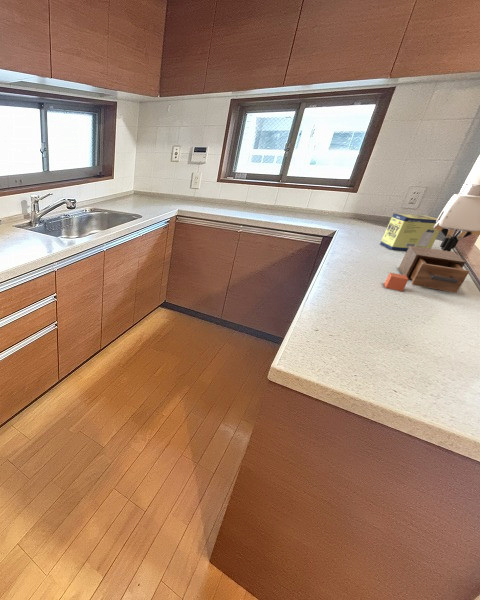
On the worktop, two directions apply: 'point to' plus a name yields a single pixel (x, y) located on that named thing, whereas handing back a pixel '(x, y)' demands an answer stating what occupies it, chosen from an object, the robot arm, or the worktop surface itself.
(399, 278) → the block
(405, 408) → the worktop surface
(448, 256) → the cabinet
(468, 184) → the robot arm
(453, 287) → the drawer
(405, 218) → the protein box
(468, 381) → the worktop surface
